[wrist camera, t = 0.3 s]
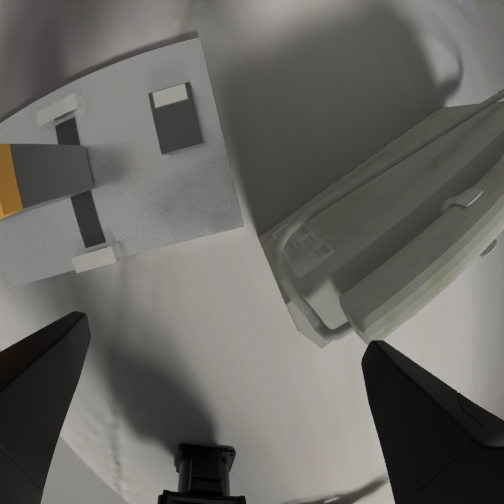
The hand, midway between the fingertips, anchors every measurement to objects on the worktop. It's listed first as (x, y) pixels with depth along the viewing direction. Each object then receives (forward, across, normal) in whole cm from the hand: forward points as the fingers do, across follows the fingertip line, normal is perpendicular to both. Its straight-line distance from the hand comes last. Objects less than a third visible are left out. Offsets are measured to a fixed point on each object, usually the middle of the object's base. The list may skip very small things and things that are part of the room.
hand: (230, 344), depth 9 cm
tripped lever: (+13, +12, -2) cm, 18 cm away
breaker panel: (+14, +12, -2) cm, 19 cm away
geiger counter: (+15, -12, -6) cm, 20 cm away
